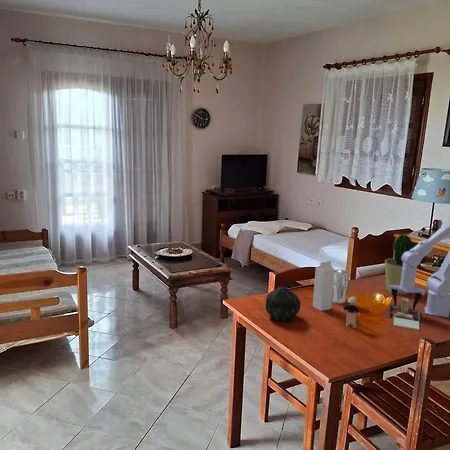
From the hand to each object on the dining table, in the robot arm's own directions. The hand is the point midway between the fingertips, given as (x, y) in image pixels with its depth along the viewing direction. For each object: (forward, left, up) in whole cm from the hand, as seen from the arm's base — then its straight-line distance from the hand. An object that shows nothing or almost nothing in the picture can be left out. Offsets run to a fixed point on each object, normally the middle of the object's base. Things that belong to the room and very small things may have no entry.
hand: (404, 307), depth 197 cm
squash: (+49, +28, -3) cm, 56 cm away
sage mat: (-1, +12, -3) cm, 13 cm away
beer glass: (+29, -1, -3) cm, 29 cm away
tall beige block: (0, 0, -3) cm, 3 cm away
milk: (+35, +10, -3) cm, 36 cm away
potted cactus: (+3, -30, -3) cm, 30 cm away
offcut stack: (0, +6, -3) cm, 7 cm away
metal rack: (0, +2, -3) cm, 4 cm away
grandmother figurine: (+21, +24, -3) cm, 32 cm away
